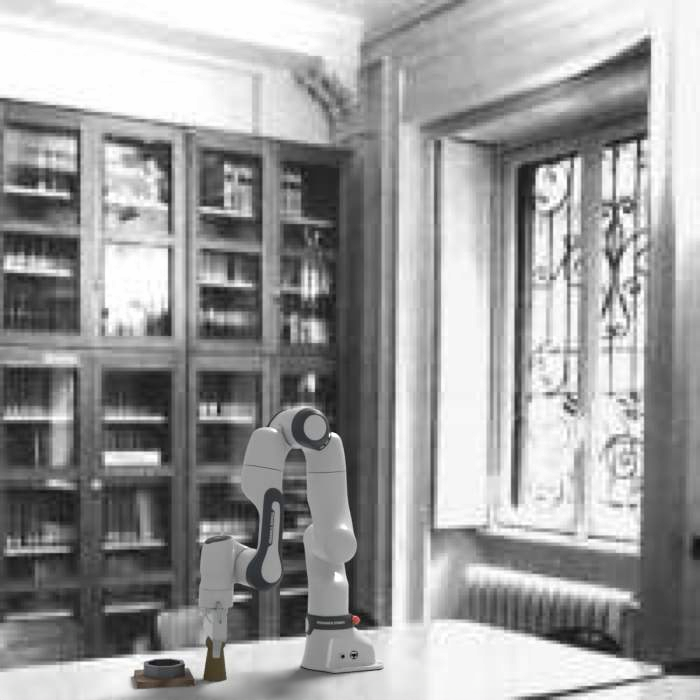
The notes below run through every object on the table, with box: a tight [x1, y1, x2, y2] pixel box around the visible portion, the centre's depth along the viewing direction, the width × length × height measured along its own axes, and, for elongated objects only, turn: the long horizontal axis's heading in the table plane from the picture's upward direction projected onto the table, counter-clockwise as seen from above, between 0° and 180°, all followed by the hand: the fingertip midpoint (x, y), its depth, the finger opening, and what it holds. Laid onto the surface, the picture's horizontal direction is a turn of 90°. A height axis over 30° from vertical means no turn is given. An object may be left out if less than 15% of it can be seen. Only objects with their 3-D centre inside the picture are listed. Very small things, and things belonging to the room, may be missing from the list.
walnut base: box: [133, 667, 195, 689], centre depth 277 cm, size 14×14×2 cm
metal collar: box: [142, 657, 186, 679], centre depth 278 cm, size 10×10×3 cm
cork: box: [202, 636, 228, 682], centre depth 281 cm, size 6×6×11 cm
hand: (213, 653), depth 281 cm, fingers open, 8 cm apart
